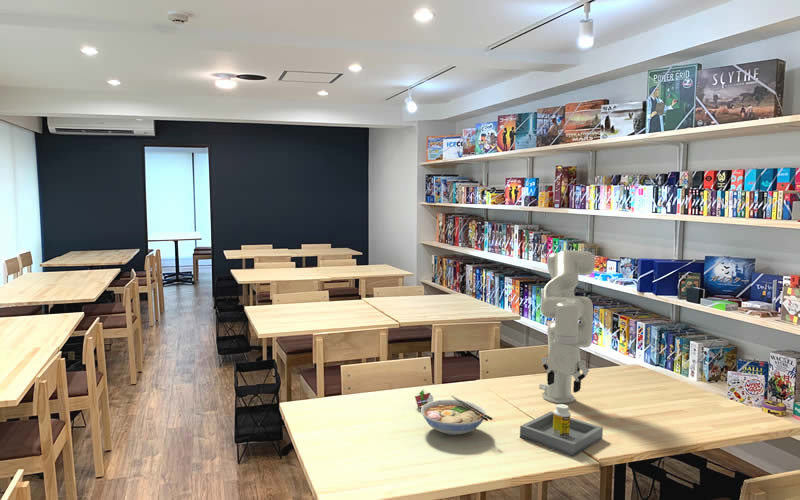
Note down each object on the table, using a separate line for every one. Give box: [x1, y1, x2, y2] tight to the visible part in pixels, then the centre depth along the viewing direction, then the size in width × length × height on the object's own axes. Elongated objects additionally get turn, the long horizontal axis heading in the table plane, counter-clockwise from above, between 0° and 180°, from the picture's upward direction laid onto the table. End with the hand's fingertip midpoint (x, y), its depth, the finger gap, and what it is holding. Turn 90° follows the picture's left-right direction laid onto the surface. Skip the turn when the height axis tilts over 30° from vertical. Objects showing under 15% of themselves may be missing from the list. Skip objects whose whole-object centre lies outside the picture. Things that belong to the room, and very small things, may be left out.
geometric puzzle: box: [414, 389, 434, 408], centre depth 225 cm, size 7×7×8 cm
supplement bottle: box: [553, 403, 571, 438], centre depth 199 cm, size 6×6×10 cm
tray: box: [519, 411, 604, 457], centre depth 199 cm, size 20×20×4 cm
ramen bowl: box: [420, 395, 493, 436], centre depth 203 cm, size 25×23×8 cm
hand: (563, 387), depth 198 cm, fingers open, 9 cm apart
